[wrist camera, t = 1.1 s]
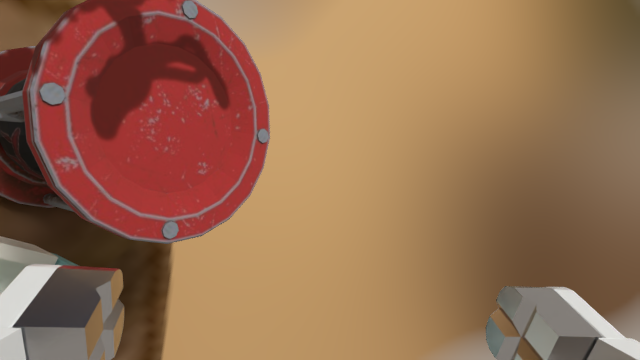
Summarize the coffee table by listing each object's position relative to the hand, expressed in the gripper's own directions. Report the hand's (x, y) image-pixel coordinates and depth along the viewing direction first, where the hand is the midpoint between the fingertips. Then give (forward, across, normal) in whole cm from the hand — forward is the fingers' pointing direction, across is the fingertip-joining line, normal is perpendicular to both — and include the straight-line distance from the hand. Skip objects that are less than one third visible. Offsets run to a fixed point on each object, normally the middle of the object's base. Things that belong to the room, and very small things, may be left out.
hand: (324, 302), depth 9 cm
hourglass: (+37, +22, +10) cm, 44 cm away
